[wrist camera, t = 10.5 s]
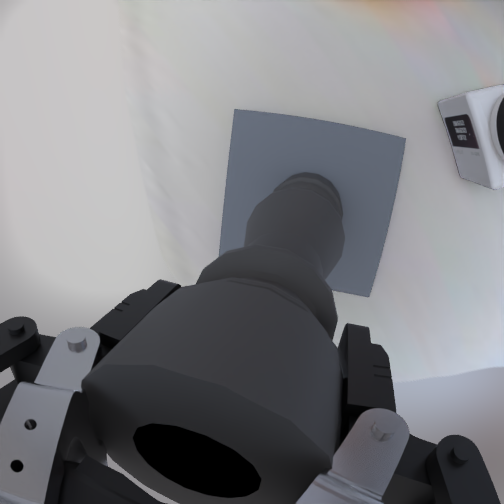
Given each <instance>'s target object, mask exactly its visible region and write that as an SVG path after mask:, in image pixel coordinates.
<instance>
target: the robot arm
mask: <svg viewBox="0 0 504 504" xmlns="http://www.w3.org/2000/svg"><path fill="white" fill-rule="evenodd" d="M180 287H181V285H179V284H176V283H172V282H168V281H164V280H158V281H157V282H156V283H154V284H153V285H152V286H151V287H150V288H148V289H147V290H144V289H142V290H140V291H137V292H135V293H132V294H130V295H129V296H128V297H127V298H125V299H124V300H123V301H122V303H119V304H118V305H117V306H116V307H115V309H112V310H111V311H110V312H109V313H108V314H106V315H105V316H104V317H103V318H101V320H99V321H98V322H97V323H96V324H94V325H93V326H92V327H91V328H90V329H89V328H84V327H75V328H70V329H67V330H65V331H63V332H61V333H60V334H59V335H58V336H57V337H50V336H45V335H41V334H39V333H38V329H37V326H36V323H35V321H34V320H32V319H31V318H28V317H14V318H11V319H9V320H7V321H5V322H3V323H1V324H0V372H2V371H4V370H5V369H7V368H9V367H10V368H11V370H12V373H13V375H14V378H15V380H13V381H12V382H10V383H9V384H7V385H6V386H4V387H2V388H1V389H0V504H165V503H162V502H160V501H158V500H156V499H155V498H153V497H152V496H150V495H149V494H148V493H146V492H145V491H144V490H142V489H141V488H140V487H138V486H137V485H136V484H134V483H133V482H132V481H131V480H129V479H128V478H127V477H125V476H124V475H123V474H121V473H119V472H117V471H115V470H113V469H111V468H110V467H108V464H107V456H106V454H107V450H106V447H105V445H104V442H103V441H102V440H100V439H98V438H96V436H95V434H94V431H93V429H92V426H91V423H90V420H89V401H88V398H87V395H86V391H85V389H83V388H82V387H81V382H82V379H83V378H84V377H85V376H86V375H87V374H88V373H89V372H90V371H91V370H92V369H93V368H94V367H95V366H96V365H97V364H98V363H99V362H100V361H101V360H102V359H103V358H104V357H105V356H106V355H107V354H108V353H109V352H110V351H111V350H112V349H113V348H114V347H115V346H116V345H117V344H118V343H119V342H120V341H121V340H122V339H123V338H124V337H125V336H126V335H127V334H128V333H129V332H130V331H131V330H132V329H133V328H134V327H135V326H136V325H137V324H138V323H139V322H140V321H141V320H142V319H143V318H144V317H145V316H146V315H147V314H148V313H149V312H150V311H151V310H152V309H153V308H154V307H155V306H157V305H158V304H159V303H161V302H162V301H163V300H165V299H166V298H167V297H168V296H170V295H171V294H172V293H174V292H175V291H176V290H178V289H179V288H180ZM337 349H338V354H339V359H340V364H341V369H342V375H343V399H342V425H341V439H340V447H339V449H338V450H337V452H336V453H335V455H334V456H333V465H332V469H330V468H325V469H324V470H323V471H322V472H321V473H320V474H319V475H318V476H317V477H316V479H315V480H314V481H313V482H312V484H311V485H310V486H309V488H308V489H307V490H306V491H305V493H304V494H303V495H302V496H301V498H300V499H299V500H298V501H297V502H296V504H501V503H500V501H499V498H498V495H497V493H496V490H495V488H494V485H493V482H492V480H491V478H490V475H489V473H488V470H487V468H486V466H485V463H484V461H483V458H482V456H481V454H480V452H479V450H478V448H477V446H476V445H475V444H474V443H473V442H472V441H471V440H469V439H468V438H466V437H463V436H460V435H450V436H447V437H445V438H443V439H442V440H441V441H440V442H439V443H438V445H436V444H434V443H431V442H427V441H425V440H422V439H419V438H417V437H415V436H413V435H411V434H410V433H409V428H408V425H407V423H406V422H405V420H404V419H403V418H402V417H401V416H400V415H398V414H397V413H396V405H395V398H394V390H393V382H392V379H391V377H392V376H391V370H390V363H389V357H388V355H387V353H386V352H385V350H384V349H383V348H382V346H381V345H377V344H372V343H371V340H370V331H369V327H364V326H359V325H354V324H349V323H347V324H346V325H345V327H344V330H343V333H342V336H341V340H340V343H339V346H338V348H337Z"/></svg>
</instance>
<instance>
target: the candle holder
mask: <svg viewBox="0 0 504 504" xmlns="http://www.w3.org/2000/svg"><path fill="white" fill-rule="evenodd" d="M342 217H343V209H342V203H341V199H340V195H339V192H338V191H337V189H336V188H335V186H334V185H333V184H332V182H331V181H329V180H328V179H326V178H324V177H323V176H321V175H319V174H315V173H308V172H303V173H299V174H295V175H292V176H290V177H289V178H288V179H286V180H285V181H284V182H282V183H281V184H280V185H279V186H278V187H276V188H275V189H274V191H273V193H271V194H270V195H269V196H267V197H266V198H265V199H264V200H262V201H261V202H260V203H258V204H257V205H256V206H255V208H254V210H253V212H252V214H251V216H250V218H249V219H248V221H247V227H246V235H245V241H244V247H242V248H237V249H233V250H228V251H226V252H225V253H224V254H222V255H221V256H220V257H218V258H217V259H216V260H214V261H213V262H212V263H211V264H209V265H208V266H207V267H205V268H204V269H203V270H202V273H201V275H200V277H199V279H198V281H197V283H196V285H191V286H185V287H180V288H179V289H178V290H176V291H175V292H174V293H172V294H171V295H170V296H168V297H167V298H166V299H165V300H163V301H162V302H161V303H159V304H158V305H157V306H155V307H154V308H153V309H152V310H151V311H150V312H149V313H148V314H147V315H146V316H145V317H144V318H143V319H142V320H141V321H140V322H139V323H138V324H137V325H136V326H135V327H134V328H133V329H132V330H131V331H130V332H129V333H128V334H127V335H126V336H125V337H124V338H123V339H122V340H121V341H120V342H119V343H118V344H117V345H116V346H115V347H114V348H113V349H112V350H111V351H110V352H109V353H108V354H107V355H106V356H105V357H104V358H103V359H102V360H101V361H100V362H99V363H98V364H97V365H96V366H95V367H94V368H93V369H92V370H91V371H90V372H89V373H88V374H87V375H86V376H85V377H84V378H83V379H82V382H81V387H82V388H83V389H85V391H86V395H87V398H88V401H89V420H90V423H91V426H92V429H93V431H94V434H95V436H96V438H98V439H100V440H102V441H103V442H104V445H105V447H106V450H107V454H108V455H109V456H110V457H111V458H112V460H113V461H114V462H116V463H117V464H118V465H119V466H120V467H122V468H123V469H124V470H125V471H127V472H128V473H129V474H131V475H132V476H133V477H134V478H136V479H137V480H138V481H140V482H141V483H142V484H144V485H145V486H147V487H149V488H150V489H152V490H154V491H156V492H158V493H160V494H162V495H164V496H165V497H168V498H169V499H171V500H173V501H175V502H177V503H180V504H296V502H297V501H298V500H299V499H300V498H301V496H302V495H303V494H304V493H305V491H306V490H307V489H308V488H309V486H310V485H311V484H312V482H313V481H314V480H315V479H316V477H317V476H318V475H319V474H320V473H321V472H322V471H323V470H324V469H325V468H330V469H332V465H333V456H334V455H335V453H336V452H337V450H338V449H339V447H340V439H341V425H342V399H343V375H342V369H341V364H340V359H339V354H338V349H337V347H336V345H335V344H334V343H333V341H332V340H333V336H334V332H335V329H336V325H337V321H338V317H337V312H336V307H335V302H334V298H333V293H332V289H331V288H330V286H329V285H328V284H327V282H326V281H325V279H326V278H327V277H328V276H329V274H330V273H331V271H332V270H333V269H334V267H335V266H336V264H337V263H338V261H339V260H340V258H341V257H342V252H343V247H344V242H345V233H344V229H343V224H342Z"/></svg>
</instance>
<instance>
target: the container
mask: <svg viewBox="0 0 504 504" xmlns="http://www.w3.org/2000/svg"><path fill="white" fill-rule="evenodd" d="M438 107H439V110H440V112H441V115H442V118H443V121H444V124H445V127H446V130H447V133H448V136H449V139H450V142H451V146H452V149H453V152H454V156H455V159H456V163H457V167H458V171H459V174H460V177H461V178H463V179H466V180H469V181H472V182H474V183H477V184H480V185H483V186H485V187H488V188H491V189H493V190H497V189H500V188H503V187H504V84H502V85H497V86H492V87H487V88H482V89H478V90H473V91H469V92H465V93H462V94H459V95H456V96H453V97H450V98H447V99H444V100H441V101H439V102H438Z"/></svg>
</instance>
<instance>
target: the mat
mask: <svg viewBox="0 0 504 504" xmlns="http://www.w3.org/2000/svg"><path fill="white" fill-rule="evenodd" d="M405 142H406V138H402V137H398V136H394V135H390V134H386V133H382V132H377V131H373V130H369V129H364V128H359V127H354V126H350V125H344V124H339V123H334V122H328V121H323V120H317V119H311V118H304V117H298V116H291V115H283V114H276V113H267V112H258V111H249V110H238V109H235V110H234V118H233V126H232V134H231V143H230V152H229V160H228V169H227V179H226V188H225V198H224V207H223V218H222V228H221V238H220V249H219V257H220V256H221V255H222V254H224V253H225V252H226V251H228V250H233V249H237V248H242V247H244V241H245V235H246V227H247V221H248V219H249V218H250V216H251V214H252V212H253V210H254V208H255V206H256V205H257V204H258V203H260V202H261V201H262V200H264V199H265V198H266V197H267V196H269V195H270V194H271V193H273V191H274V189H275V188H276V187H278V186H279V185H280V184H281V183H282V182H284V181H285V180H286V179H288V178H289V177H290V176H292V175H295V174H299V173H303V172H308V173H315V174H319V175H321V176H323V177H324V178H326V179H328V180H329V181H331V182H332V184H333V185H334V186H335V188H336V189H337V191H338V192H339V195H340V199H341V203H342V209H343V217H342V224H343V229H344V233H345V242H344V247H343V252H342V257H341V258H340V260H339V261H338V263H337V264H336V266H335V267H334V269H333V270H332V271H331V273H330V274H329V276H328V277H327V278H326V279H325V281H326V282H327V284H328V285H329V286H330V288H331V289H332V290H335V291H339V292H344V293H349V294H354V295H359V296H364V297H369V296H370V292H371V289H372V286H373V282H374V279H375V276H376V272H377V269H378V265H379V261H380V258H381V254H382V250H383V247H384V243H385V239H386V235H387V231H388V227H389V222H390V218H391V214H392V210H393V205H394V200H395V196H396V191H397V186H398V181H399V176H400V171H401V165H402V160H403V154H404V148H405Z"/></svg>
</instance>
